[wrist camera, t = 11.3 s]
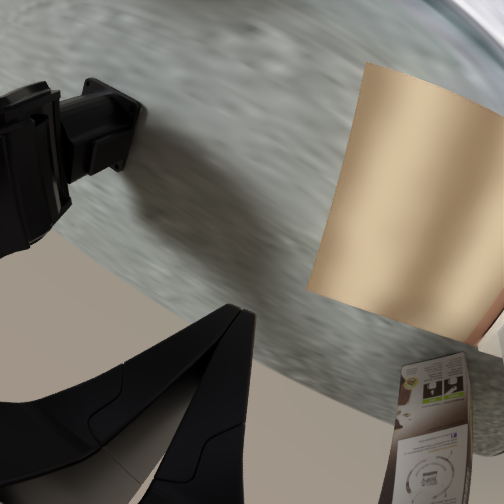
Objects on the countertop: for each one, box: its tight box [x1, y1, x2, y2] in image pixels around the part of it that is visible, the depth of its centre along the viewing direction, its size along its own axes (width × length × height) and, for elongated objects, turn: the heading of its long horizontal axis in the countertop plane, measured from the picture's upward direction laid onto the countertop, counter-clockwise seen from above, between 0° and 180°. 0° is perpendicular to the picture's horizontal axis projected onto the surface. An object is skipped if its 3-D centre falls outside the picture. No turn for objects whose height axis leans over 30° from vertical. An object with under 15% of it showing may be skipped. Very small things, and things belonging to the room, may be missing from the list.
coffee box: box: [378, 352, 473, 504], centre depth 18 cm, size 9×6×16 cm
